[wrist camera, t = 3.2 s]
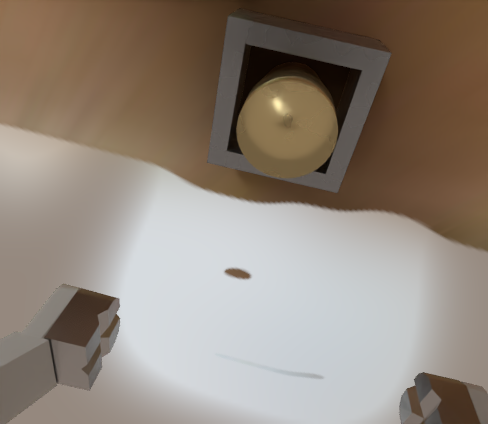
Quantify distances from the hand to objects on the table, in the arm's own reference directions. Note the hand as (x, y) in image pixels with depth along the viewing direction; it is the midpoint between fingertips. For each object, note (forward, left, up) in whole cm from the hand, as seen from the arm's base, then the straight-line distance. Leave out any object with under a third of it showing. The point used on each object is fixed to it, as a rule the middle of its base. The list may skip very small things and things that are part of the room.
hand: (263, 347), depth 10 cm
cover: (0, 0, -23) cm, 23 cm away
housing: (0, 0, -23) cm, 23 cm away
